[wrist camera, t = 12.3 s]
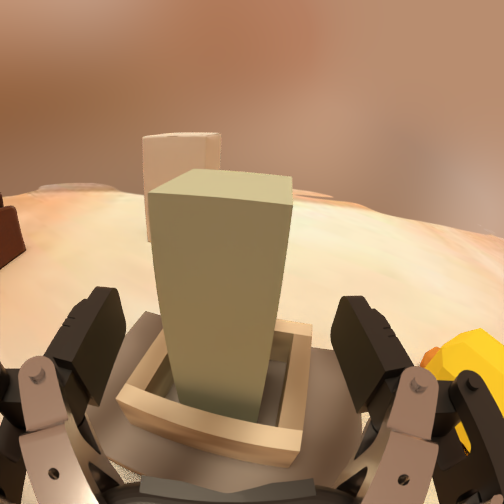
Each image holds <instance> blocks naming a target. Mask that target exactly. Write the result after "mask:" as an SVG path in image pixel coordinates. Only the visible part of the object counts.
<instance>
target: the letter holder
mask: <svg viewBox="0 0 504 504" xmlns="http://www.w3.org/2000/svg"><path fill="white" fill-rule="evenodd" d="M25 250H26V248H25V244H24V241H23V237H22V233H21V229H20V225H19V221H18V216H17V211H16V209H15V207H14V206H5V207H4V206H3V199H2V195H1V193H0V269H1V268H2V267H4V266H5V265H6V264H7V263H9V262H10V261H12V260H13V259H14V258H16V257H17V256H18V255H20V254H21V253H23V252H24V251H25Z"/></svg>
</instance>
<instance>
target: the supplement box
mask: <svg viewBox="0 0 504 504" xmlns="http://www.w3.org/2000/svg"><path fill="white" fill-rule="evenodd" d="M221 137H222V135H221V133H167V134H159V135H151V136H144V137H143V138H142V143H143V144H142V145H143V146H142V148H143V177H144V179H143V180H144V198H145V213H146V225H147V236H148V241H150V242H151V234H150V221H149V206H148V192H150V191H151V190H153V189H155V188H157V187H159V186H161V185H163V184H164V183H166V182H168V181H170V180H172V179H174V178H176V177H178V176H180V175H182V174H184V173H186V172H188V171H190V170H192V169H210V170H220V159H221Z"/></svg>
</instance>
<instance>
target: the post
mask: <svg viewBox="0 0 504 504" xmlns="http://www.w3.org/2000/svg"><path fill="white" fill-rule="evenodd" d="M148 206H149V221H150V234H151V245H152V254H153V264H154V272H155V280H156V287H157V294H158V301H159V307H160V313H161V319H162V325H163V331H164V336H165V341H166V346H167V351H168V356H169V361H170V365H171V370H172V374H173V378H174V383H175V387H176V391H177V395H178V399H179V402H180V404H183V405H186V406H189V407H193V408H196V409H199V410H203V411H206V412H210V413H214V414H217V415H221V416H225V417H229V418H234V419H238V420H242V421H247V422H252V423H257V420H258V415H259V410H260V405H261V400H262V395H263V390H264V385H265V380H266V374H267V369H268V363H269V358H270V352H271V347H272V341H273V335H274V329H275V323H276V317H277V311H278V305H279V299H280V293H281V286H282V280H283V273H284V266H285V259H286V252H287V245H288V238H289V231H290V223H291V216H292V208H293V194H292V177H288V176H280V175H270V174H260V173H250V172H239V171H226V170H210V169H192V170H190V171H188V172H186V173H184V174H182V175H180V176H178V177H176V178H174V179H172V180H170V181H168V182H166V183H164V184H163V185H161V186H159V187H157V188H155V189H153V190H151V191H150V192H148Z"/></svg>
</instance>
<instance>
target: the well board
mask: <svg viewBox="0 0 504 504" xmlns="http://www.w3.org/2000/svg"><path fill="white" fill-rule="evenodd" d="M311 341H312V325H311V324H305V323H298V322H292V321H286V320H280V319H276V323H275V329H274V335H273V341H272V347H271V352H270V358H269V363H268V369H267V374H266V380H265V385H264V390H263V395H262V400H261V405H260V410H259V415H258V420H257V423H252V422H247V421H242V420H238V419H234V418H229V417H225V416H221V415H217V414H214V413H210V412H206V411H203V410H199V409H196V408H193V407H189V406H186V405H183V404H180V402H179V399H178V395H177V391H176V387H175V383H174V378H173V374H172V370H171V365H170V361H169V356H168V351H167V346H166V341H165V336H164V331H163V325H162V319H161V315H157V314H154V313H150V312H147V311H145V312H144V313H143V315H142V316H141V317H140V318H139V320H138V321H137V322H136V323H135V324H134V326H133V327H132V328H131V329H130V331H129V332H128V333H127V334H126V336H125V337H124V340H123V343H122V345H121V348H120V350H119V353H118V355H117V358H116V361H115V363H114V366H113V369H112V371H111V374H110V377H109V380H108V383H107V385H106V388H105V391H104V394H103V397H102V400H101V403H100V406H99V407H96V406H92V405H89V404H88V406H87V408H86V411H85V412H86V413H87V415H88V417H89V420H90V422H91V425H92V427H93V429H94V432H95V434H96V436H97V439H98V441H99V443H100V445H101V447H102V449H103V451H104V453H105V455H106V457H107V459H109V460H111V461H113V462H114V463H116V464H118V465H120V466H122V467H124V468H126V469H128V470H130V471H132V472H135V473H137V474H139V475H145V476H150V477H156V478H162V479H169V480H177V481H183V482H187V483H190V484H193V485H196V486H199V487H203V488H207V489H210V490H214V491H218V492H222V493H234V492H238V491H243V490H247V489H251V488H255V487H259V486H263V485H266V484H270V483H276V482H287V481H295V480H303V479H310V478H313V479H314V485H320V486H326V487H330V488H332V486H333V484H334V482H335V481H336V479H337V478H338V476H339V475H340V473H341V472H342V471H343V470H344V468H345V467H346V466H347V464H348V462H349V460H350V459H351V456H352V454H353V452H354V450H355V448H356V446H357V444H358V442H359V439H360V437H361V435H362V421H361V413H359V414H357V413H356V410H355V407H354V404H353V401H352V398H351V396H350V393H349V390H348V387H347V384H346V381H345V379H344V376H343V373H342V370H341V368H340V365H339V362H338V360H337V357H336V354H335V351H334V350H327V349H320V348H313V347H311Z"/></svg>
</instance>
